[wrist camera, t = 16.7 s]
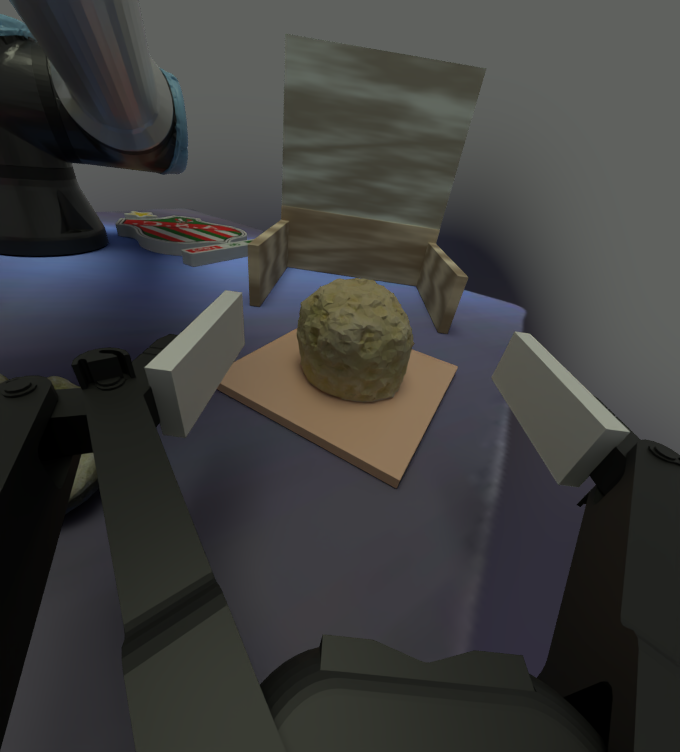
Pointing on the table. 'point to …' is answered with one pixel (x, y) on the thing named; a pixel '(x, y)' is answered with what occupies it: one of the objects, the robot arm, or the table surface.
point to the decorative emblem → (185, 237)
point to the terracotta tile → (342, 407)
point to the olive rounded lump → (354, 340)
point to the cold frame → (368, 169)
